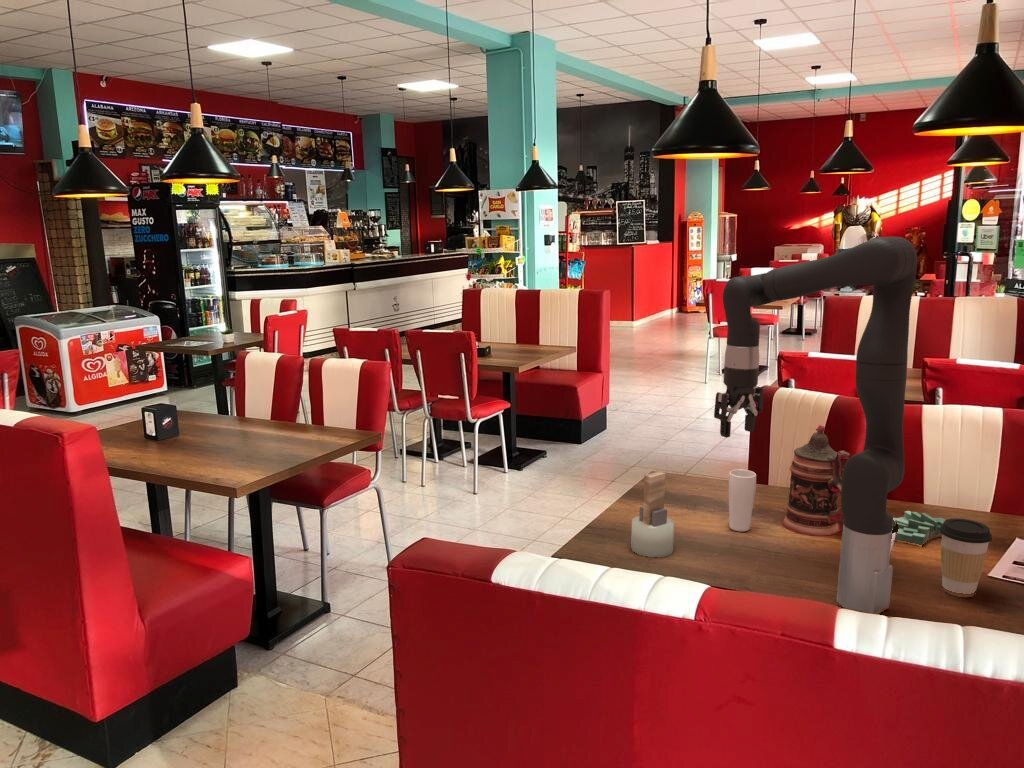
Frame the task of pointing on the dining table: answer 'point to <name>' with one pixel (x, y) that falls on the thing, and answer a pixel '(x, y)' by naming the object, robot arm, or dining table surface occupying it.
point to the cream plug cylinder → (652, 534)
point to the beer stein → (815, 488)
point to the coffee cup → (963, 554)
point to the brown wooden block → (653, 495)
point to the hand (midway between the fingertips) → (737, 433)
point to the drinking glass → (741, 498)
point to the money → (917, 527)
